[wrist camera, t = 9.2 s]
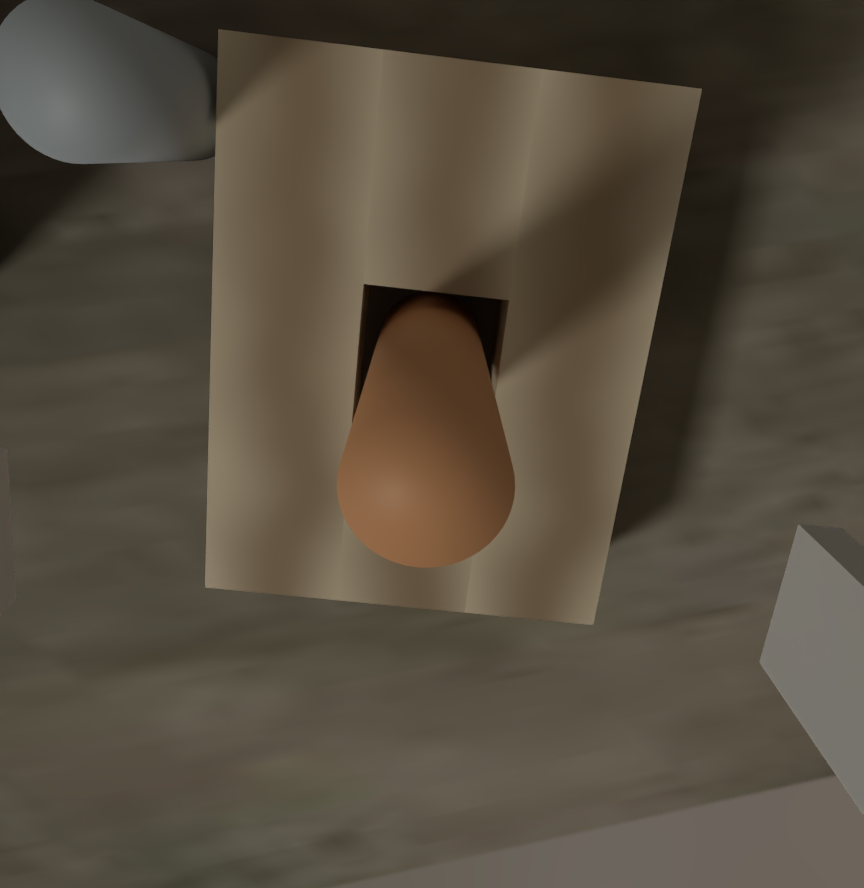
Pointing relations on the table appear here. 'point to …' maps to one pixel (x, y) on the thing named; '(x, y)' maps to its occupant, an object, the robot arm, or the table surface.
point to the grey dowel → (104, 86)
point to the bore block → (437, 270)
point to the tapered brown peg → (427, 440)
